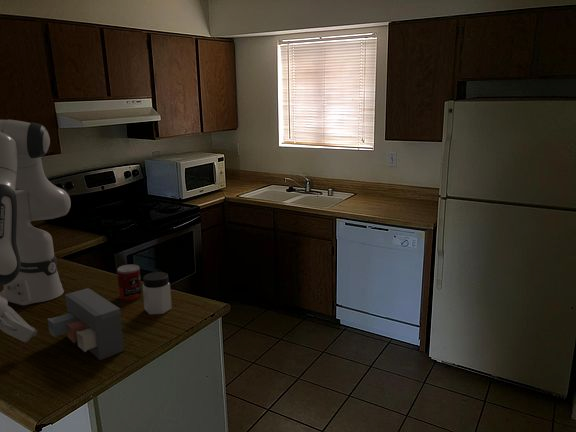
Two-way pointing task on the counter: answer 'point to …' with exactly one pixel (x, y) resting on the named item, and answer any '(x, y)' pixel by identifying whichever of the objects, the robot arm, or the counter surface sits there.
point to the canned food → (129, 282)
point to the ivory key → (86, 339)
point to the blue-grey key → (60, 324)
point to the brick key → (74, 329)
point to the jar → (156, 293)
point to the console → (98, 320)
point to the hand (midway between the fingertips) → (34, 332)
